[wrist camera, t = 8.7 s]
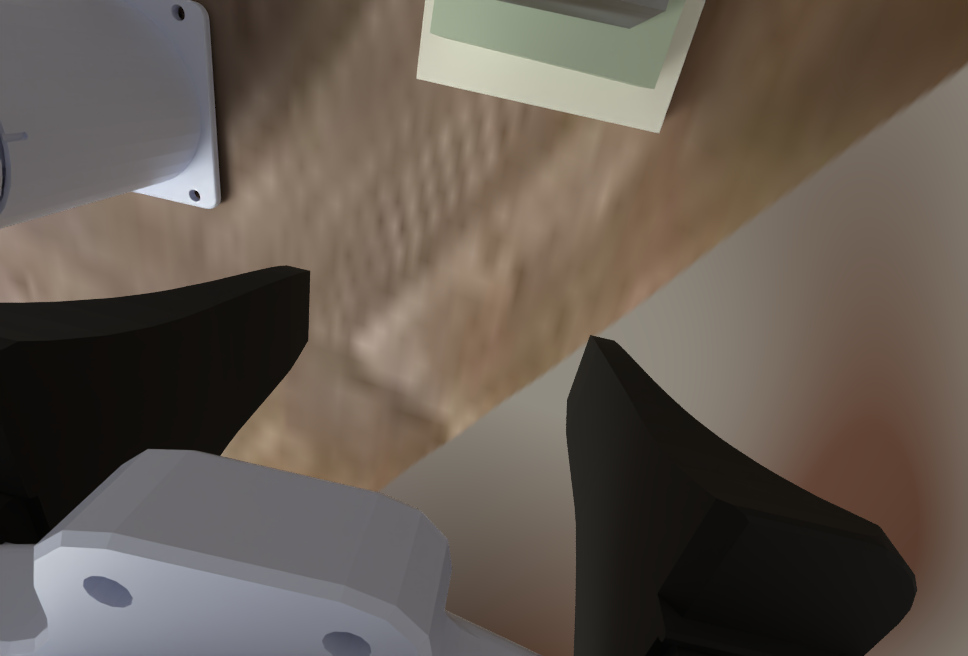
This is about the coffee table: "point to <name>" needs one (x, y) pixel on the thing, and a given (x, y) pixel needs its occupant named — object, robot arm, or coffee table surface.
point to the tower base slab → (557, 77)
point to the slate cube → (601, 9)
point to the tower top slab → (562, 38)
